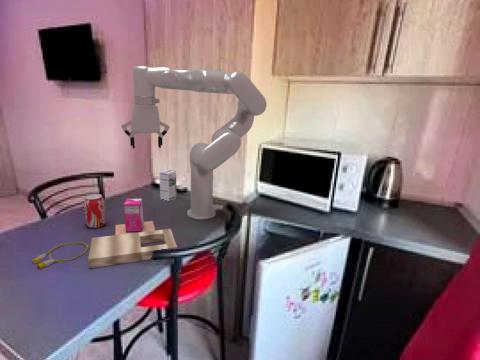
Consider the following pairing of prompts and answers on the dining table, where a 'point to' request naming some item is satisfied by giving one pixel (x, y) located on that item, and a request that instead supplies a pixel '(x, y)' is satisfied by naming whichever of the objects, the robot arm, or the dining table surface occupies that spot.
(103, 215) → the soda can
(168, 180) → the syrup box
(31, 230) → the dining table surface
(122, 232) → the mat
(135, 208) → the supplement box
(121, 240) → the wooden cutout board
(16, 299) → the dining table surface
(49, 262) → the extension cord
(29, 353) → the dining table surface
